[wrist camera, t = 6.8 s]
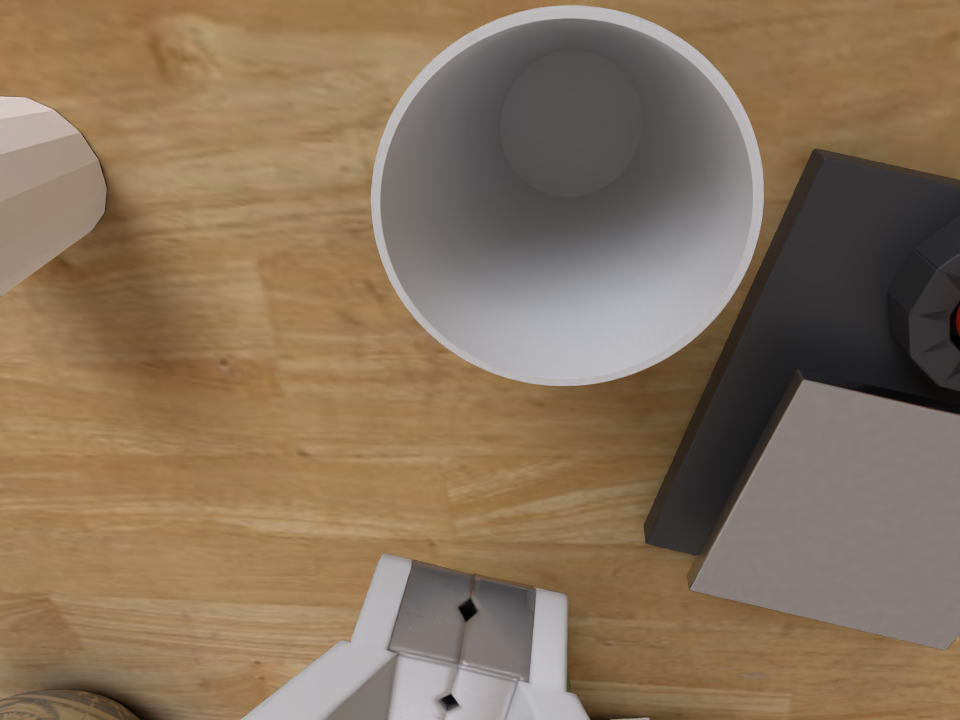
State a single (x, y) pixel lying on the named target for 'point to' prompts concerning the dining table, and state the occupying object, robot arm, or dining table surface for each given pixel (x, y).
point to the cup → (567, 195)
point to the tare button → (958, 321)
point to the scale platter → (846, 513)
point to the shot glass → (43, 188)
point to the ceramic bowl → (62, 706)
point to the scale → (825, 322)
